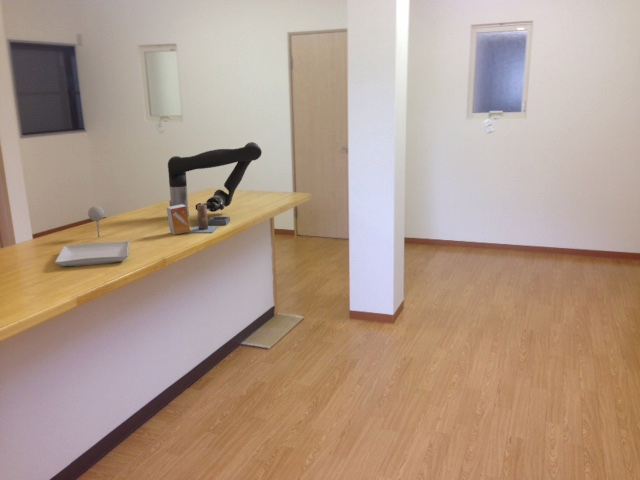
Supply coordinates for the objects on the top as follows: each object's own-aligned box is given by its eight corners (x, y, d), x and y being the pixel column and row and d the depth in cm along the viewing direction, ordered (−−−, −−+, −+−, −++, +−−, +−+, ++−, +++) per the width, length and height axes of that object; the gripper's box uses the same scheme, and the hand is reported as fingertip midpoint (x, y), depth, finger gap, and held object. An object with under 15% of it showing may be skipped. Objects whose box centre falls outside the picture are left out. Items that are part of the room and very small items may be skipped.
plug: (197, 230, 278) (196, 206, 275) (200, 227, 282) (198, 204, 279) (206, 230, 277) (205, 206, 274) (209, 227, 282) (207, 204, 279)
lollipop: (110, 235, 271) (106, 205, 267) (99, 239, 264) (96, 208, 261) (97, 234, 273) (94, 204, 269) (87, 238, 267) (83, 207, 263)
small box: (174, 235, 270) (170, 209, 266) (170, 232, 275) (165, 207, 271) (190, 231, 274) (186, 205, 270) (186, 229, 279) (181, 203, 275)
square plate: (129, 264, 225) (128, 254, 224) (55, 271, 218) (54, 261, 217) (130, 247, 250) (129, 239, 249) (64, 253, 243) (63, 244, 242)
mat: (188, 232, 274) (188, 231, 274) (195, 227, 286) (195, 226, 286) (212, 233, 274) (212, 231, 273) (218, 227, 285) (218, 226, 285)
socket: (208, 225, 291) (207, 220, 290) (212, 221, 300) (212, 216, 299) (226, 225, 290) (225, 220, 289) (230, 221, 299) (229, 216, 299)
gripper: (201, 196, 301) (192, 202, 286) (227, 196, 300) (219, 202, 284) (202, 210, 303) (193, 216, 287) (228, 210, 302) (220, 216, 286)
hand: (206, 209), depth 286 cm, fingers open, 8 cm apart
